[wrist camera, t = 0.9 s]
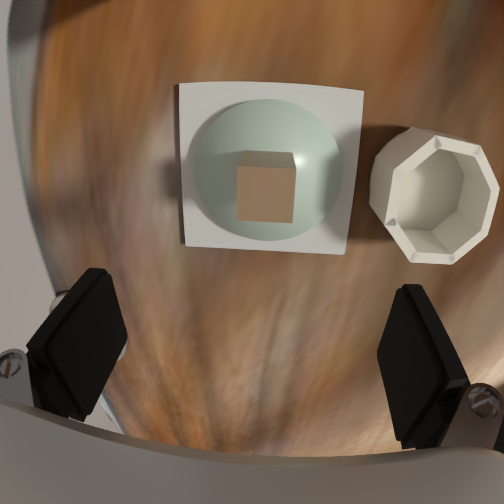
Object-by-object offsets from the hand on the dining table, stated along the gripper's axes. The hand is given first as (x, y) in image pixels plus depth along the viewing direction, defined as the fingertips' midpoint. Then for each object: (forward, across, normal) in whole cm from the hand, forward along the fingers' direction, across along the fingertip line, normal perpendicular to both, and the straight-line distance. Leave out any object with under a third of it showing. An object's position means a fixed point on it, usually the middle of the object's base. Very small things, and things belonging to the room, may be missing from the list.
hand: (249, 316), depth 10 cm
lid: (+21, 0, +1) cm, 21 cm away
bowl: (+21, -15, +1) cm, 26 cm away
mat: (+21, 0, +1) cm, 21 cm away
